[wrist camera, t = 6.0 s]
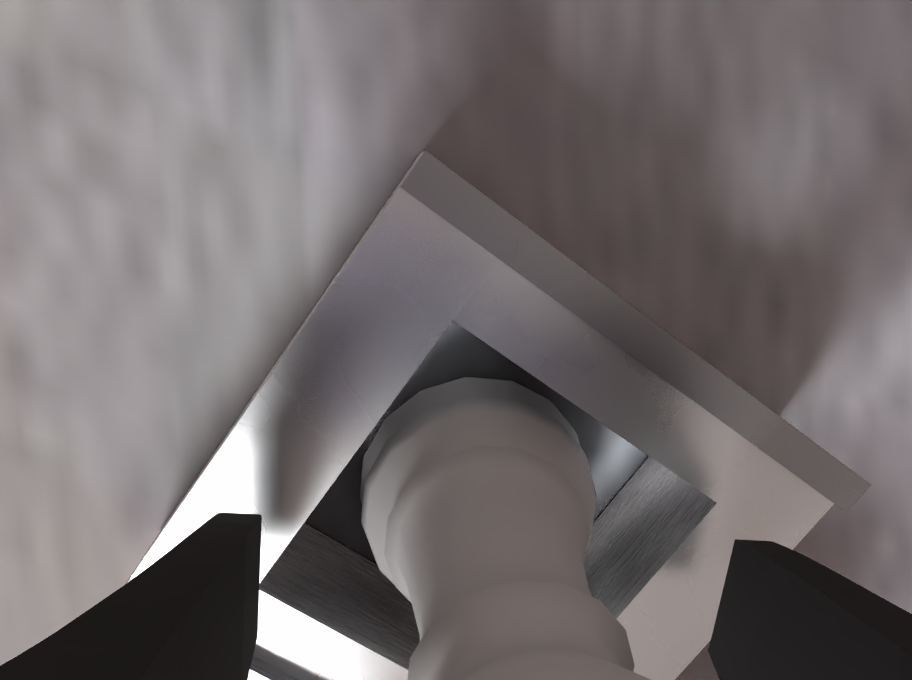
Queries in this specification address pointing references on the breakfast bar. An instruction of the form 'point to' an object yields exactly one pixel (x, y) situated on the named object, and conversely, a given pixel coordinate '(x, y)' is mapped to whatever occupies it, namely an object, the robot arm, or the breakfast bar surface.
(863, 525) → the breakfast bar surface
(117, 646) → the robot arm
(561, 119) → the breakfast bar surface
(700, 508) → the block
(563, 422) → the rook chess piece
